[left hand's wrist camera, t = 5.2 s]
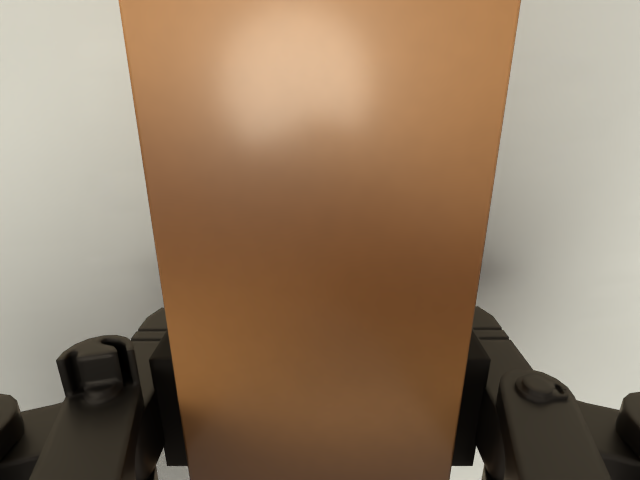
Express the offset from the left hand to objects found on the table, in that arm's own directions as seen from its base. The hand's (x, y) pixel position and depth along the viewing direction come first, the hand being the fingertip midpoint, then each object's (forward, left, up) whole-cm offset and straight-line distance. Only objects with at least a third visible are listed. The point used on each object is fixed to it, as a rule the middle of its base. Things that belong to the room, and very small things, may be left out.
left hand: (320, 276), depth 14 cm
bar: (+16, +17, -1) cm, 24 cm away
